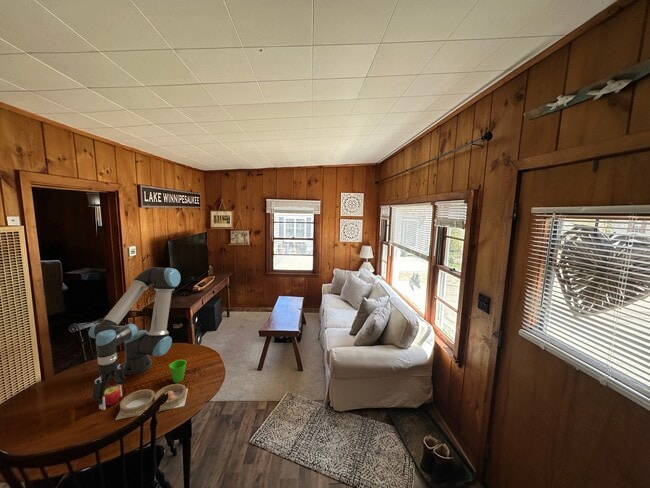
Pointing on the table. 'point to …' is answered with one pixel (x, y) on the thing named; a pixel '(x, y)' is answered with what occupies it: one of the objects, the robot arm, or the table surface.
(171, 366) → the cup
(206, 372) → the table surface
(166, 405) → the ring
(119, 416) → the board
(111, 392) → the apple
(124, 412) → the ring
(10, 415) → the table surface
